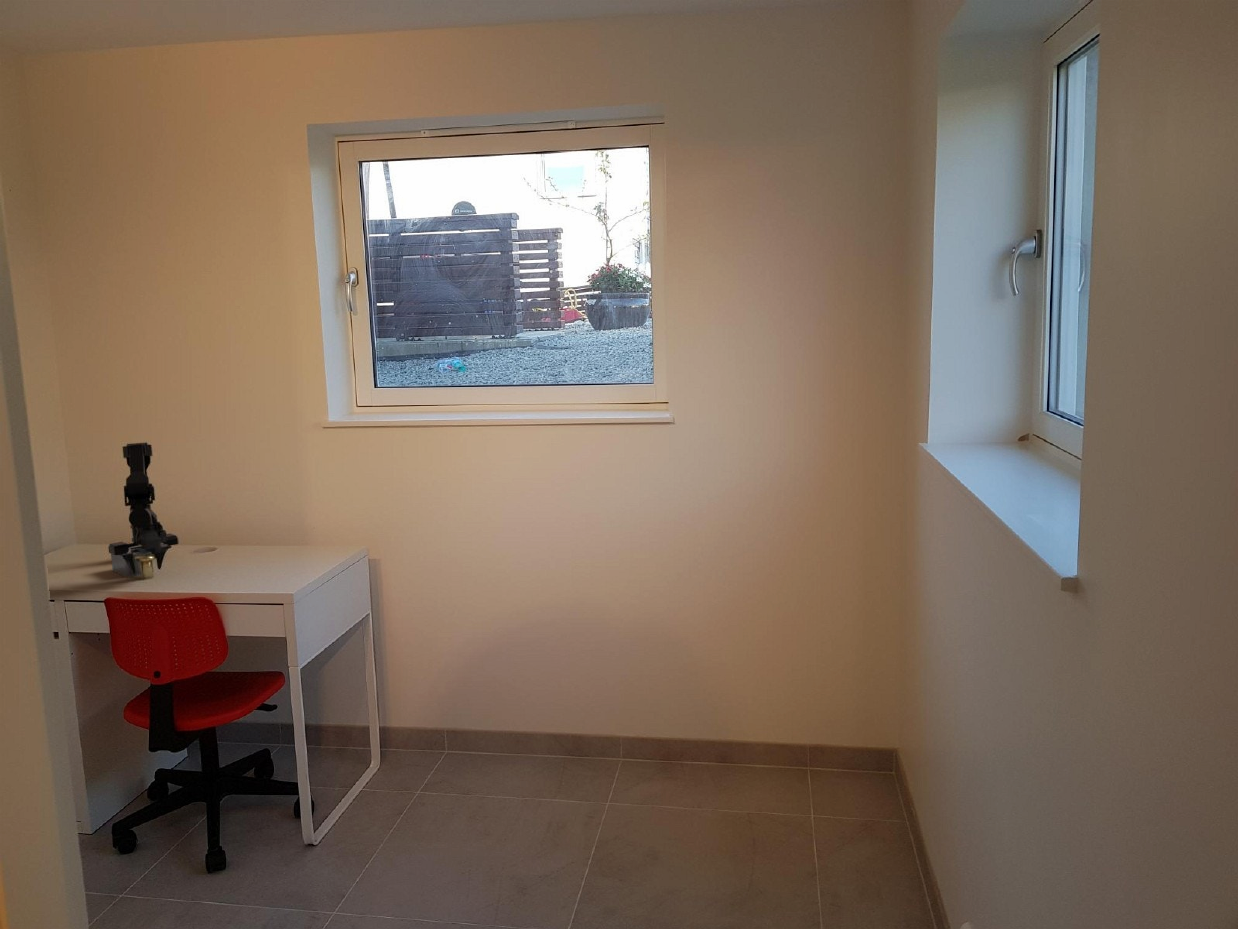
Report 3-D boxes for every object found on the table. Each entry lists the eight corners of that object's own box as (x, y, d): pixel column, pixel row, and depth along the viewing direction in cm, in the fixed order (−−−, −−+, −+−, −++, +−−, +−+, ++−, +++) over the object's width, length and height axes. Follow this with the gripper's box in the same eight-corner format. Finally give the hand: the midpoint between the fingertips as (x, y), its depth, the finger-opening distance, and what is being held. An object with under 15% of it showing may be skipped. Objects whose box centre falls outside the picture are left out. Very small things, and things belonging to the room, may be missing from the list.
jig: (139, 566, 318) (137, 546, 317) (153, 572, 310) (151, 552, 309) (112, 571, 312) (110, 551, 312) (126, 577, 304) (124, 557, 303)
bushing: (153, 574, 307) (151, 553, 306) (160, 577, 303) (158, 556, 302) (134, 578, 303) (132, 556, 302) (141, 581, 299) (139, 559, 298)
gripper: (118, 530, 288) (124, 582, 290) (183, 519, 301) (188, 569, 303) (105, 525, 296) (110, 576, 298) (168, 515, 309) (173, 564, 311)
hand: (146, 571), depth 302 cm, fingers open, 7 cm apart
